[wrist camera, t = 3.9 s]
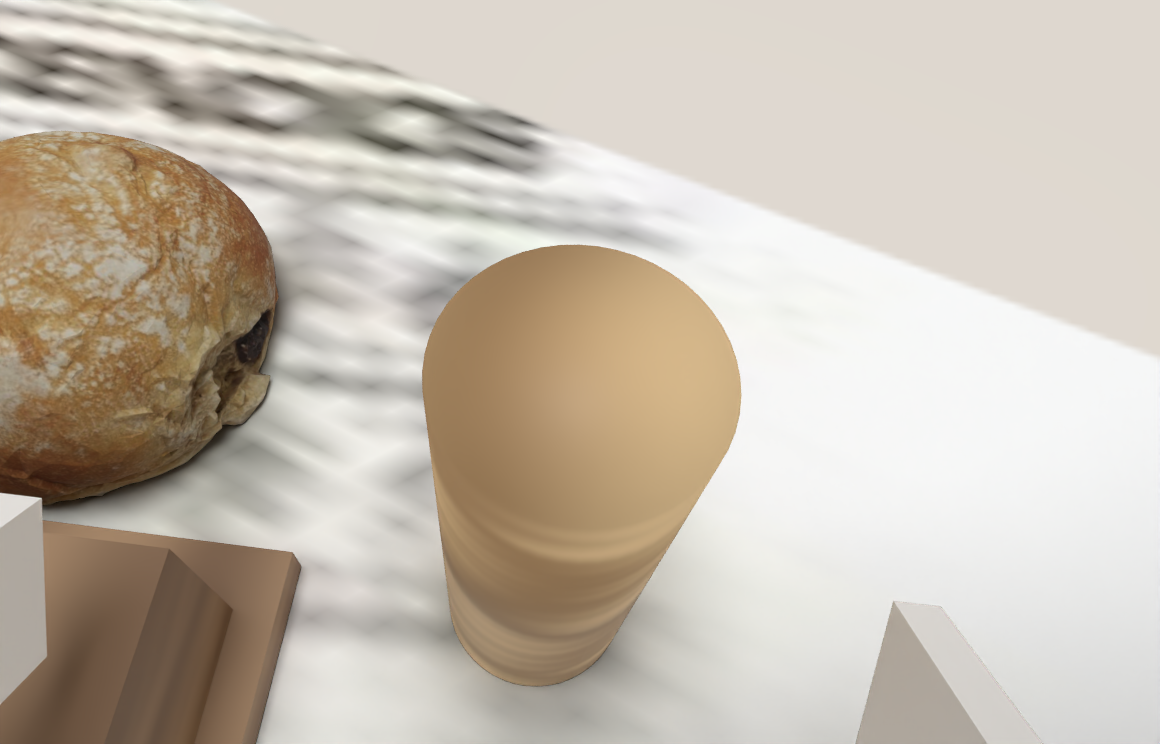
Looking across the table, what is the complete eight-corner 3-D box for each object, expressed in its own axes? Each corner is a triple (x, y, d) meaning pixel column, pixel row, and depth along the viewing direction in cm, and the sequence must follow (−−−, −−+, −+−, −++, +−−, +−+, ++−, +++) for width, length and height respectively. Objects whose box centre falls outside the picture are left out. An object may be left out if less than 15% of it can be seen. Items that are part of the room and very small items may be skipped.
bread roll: (197, 565, 26) (263, 490, 20) (-242, 479, 22) (-333, 347, 15) (276, 283, 31) (349, 152, 24) (-72, 165, 26) (-89, -31, 20)
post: (627, 525, 24) (742, 267, 13) (614, 696, 22) (738, 549, 11) (464, 503, 24) (451, 226, 13) (435, 674, 22) (392, 505, 11)
